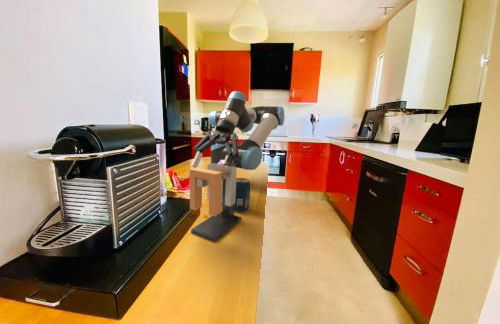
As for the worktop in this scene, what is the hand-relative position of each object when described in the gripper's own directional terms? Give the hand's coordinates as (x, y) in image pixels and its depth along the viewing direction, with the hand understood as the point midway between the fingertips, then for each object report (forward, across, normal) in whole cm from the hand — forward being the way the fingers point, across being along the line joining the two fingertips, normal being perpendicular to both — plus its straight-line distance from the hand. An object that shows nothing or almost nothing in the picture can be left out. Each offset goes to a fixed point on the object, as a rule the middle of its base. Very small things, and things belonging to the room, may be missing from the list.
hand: (207, 169), depth 76 cm
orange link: (+15, +12, -8) cm, 21 cm away
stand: (+18, +12, +2) cm, 21 cm away
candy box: (+6, 0, +19) cm, 20 cm away
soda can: (+9, +11, +14) cm, 20 cm away
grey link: (+10, +12, -2) cm, 16 cm away
